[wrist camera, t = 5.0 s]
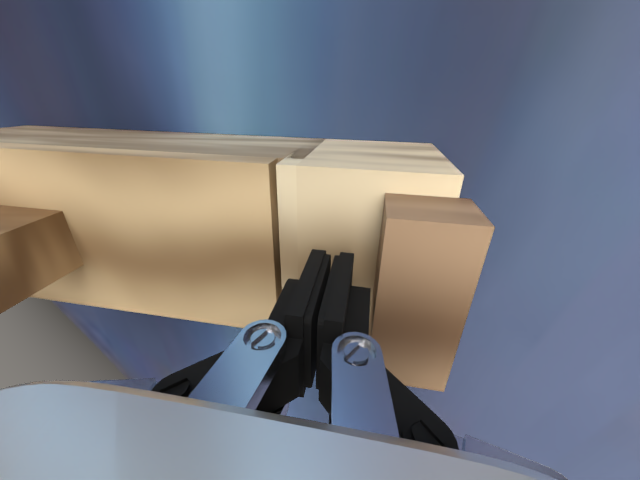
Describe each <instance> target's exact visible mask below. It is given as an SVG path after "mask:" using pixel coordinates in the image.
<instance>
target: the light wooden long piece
mask: <svg viewBox="0 0 640 480" xmlns="http://www.w3.org/2000/svg"><path fill="white" fill-rule="evenodd" d="M0 142H3V143H21V144H39V145H57V146H75V147H92V148H110V149H128V150H146V151H164V152H182V153H200V154H218V155H236V156H254V157H272V158H278V163H277V164H276V179H277V200H278V221H279V241H280V262H281V283H282V289H283V287H284V285H285V283H286V281H287V280H288V279H289V278H290V279H298V280H299V279H300V276H301V274H302V271H303V269H304V267H305V264H306V262H307V260H308V257H309V255H310V253H311V250H312V249H316V250H326V254H330V255H331V267H332V263H333V259H334V256H335V255H340V252H346V253H354V263H353V276H352V286H358V287H366V288H371V292H370V314H371V306H372V297H373V289H374V281H375V273H376V264H377V256H378V248H379V239H380V231H381V223H382V215H383V206H384V198H385V193H394V194H408V195H423V196H437V197H451V198H459V195H460V191H461V187H462V183H463V179H464V175H463V174H462V173H461V172H460V171H459V170H458V169H457V168H456V167H455V166H454V165H453V164H452V163H451V162H450V161H449V160H448V159H447V158H446V157H445V156H444V155H443V154H442V153H441V152H440V151H439V150H438V149H437V148H436V147H435V146H434V145H433V144H431V143H409V142H386V141H364V140H342V139H319V138H297V137H275V136H252V135H230V134H208V133H185V132H163V131H141V130H118V129H96V128H74V127H52V126H29V125H27V126H16V127H6V128H0ZM330 270H331V269H330ZM369 322H370V316H369Z"/></svg>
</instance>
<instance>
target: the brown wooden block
mask: <svg viewBox="0 0 640 480" xmlns="http://www.w3.org/2000/svg"><path fill="white" fill-rule="evenodd" d="M494 228H495V227H494V225H493V224H492V223H491V222H490V221H489V220H488V218H487V217H486V216H485V215H484V214H483V213H482V211H481V210H480V209H479V208H478V207H477V206H476V204H475V203H474V202H473V201H472V200H471V199H465V198H451V197H437V196H423V195H408V194H394V193H385V198H384V206H383V215H382V223H381V231H380V239H379V248H378V256H377V264H376V273H375V281H374V289H373V297H372V306H371V314H370V322H369V336H370V337H372V338H373V339H375V340H376V341H377V343H378V344H379V345H380V347H381V350H382V354H383V359H384V364H385V367H386V368H387V369H388V370H389V371H390V372H391V373H392V374H393V375H394V376H395V377H396V378H397V379H398V380H399V381H401V382H402V383H403V384H404V385H405V386H411V387H417V388H423V389H430V390H436V391H442V392H444V390H445V387H446V384H447V380H448V377H449V374H450V371H451V367H452V364H453V361H454V358H455V354H456V351H457V348H458V345H459V341H460V338H461V335H462V332H463V329H464V325H465V322H466V319H467V316H468V312H469V309H470V306H471V303H472V299H473V296H474V293H475V290H476V286H477V283H478V280H479V277H480V273H481V270H482V267H483V264H484V261H485V257H486V254H487V251H488V248H489V244H490V241H491V238H492V235H493V231H494Z"/></svg>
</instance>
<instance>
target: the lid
mask: <svg viewBox="0 0 640 480" xmlns="http://www.w3.org/2000/svg"><path fill="white" fill-rule="evenodd" d="M277 163H278V158H272V157H254V156H236V155H218V154H200V153H182V152H164V151H146V150H128V149H110V148H92V147H75V146H57V145H39V144H21V143H3V142H0V314H1V313H2V312H4V311H6V310H7V309H9V308H11V307H13V306H14V305H16V304H18V303H19V302H21V301H23V300H24V299H26V298H28V297H35V298H41V299H48V300H55V301H61V302H68V303H75V304H82V305H89V306H96V307H103V308H109V309H116V310H123V311H130V312H137V313H144V314H151V315H157V316H164V317H171V318H178V319H185V320H192V321H199V322H205V323H212V324H219V325H226V326H233V327H240V328H244V327H245V326H246V325H248V324H250V323H252V322H255V321H258V320H266V319H267V320H268V318H269V316H270V314H271V312H272V310H273V308H274V306H275V304H276V302H277V300H278V298H279V296H280V293H281V291H282V283H281V262H280V241H279V221H278V200H277V179H276V164H277Z"/></svg>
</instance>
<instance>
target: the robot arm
mask: <svg viewBox="0 0 640 480" xmlns="http://www.w3.org/2000/svg"><path fill="white" fill-rule="evenodd" d="M353 263H354V253H346V252H340V255H335V256H334V259H333V263H332V267H331V255H330V254H326V250H316V249H312V250H311V253H310V255H309V257H308V260H307V262H306V264H305V267H304V269H303V271H302V274H301V276H300V279H299V280H298V279H290V278H289V279H288V280H287V281H286V283H285V285H284V287H283V289H282V291H281V293H280V296H279V298H278V300H277V302H276V304H275V306H274V308H273V310H272V312H271V314H270V316H269V318H268V320H267V319H266V320H258V321H255V322H252V323H250V324H248V325H246V326H245V327H244V328H243V329H242V330H241V331H240V333H239V334H238V335H237V336H236V338H235V339H234V340H233V341H232V343H231V344H230V345H229V346H228V348H227V349H226V350H225V351H223V352H220V353H218V354H216V355H214V356H211V357H209V358H207V359H205V360H202V361H200V362H198V363H196V364H193V365H191V366H189V367H186V368H184V369H182V370H180V371H177V372H175V373H173V374H171V375H169V376H167V377H165V378H164V379H162V380H161V381H160V382H156V379H155V378H148V379H125V380H104V381H90V382H87V381H69V380H68V381H67V380H55V381H39V382H31V383H25V384H19V385H14V386H9V387H5V388H1V389H0V480H568V479H566V478H565V477H564V476H563V475H562V474H560V473H558V472H556V471H555V470H553V469H551V468H549V467H547V466H544V465H541V464H539V463H536V462H534V461H531V460H529V459H526V458H524V457H521V456H519V455H516V454H514V453H511V452H509V451H506V450H504V449H501V448H499V447H496V446H493V445H491V444H488V443H486V442H483V441H481V440H478V439H476V438H473V437H471V436H468V435H465V437H464V438H462V437H459V436H457V435H454V434H453V433H452V431H451V430H450V429H449V427H448V426H447V425H446V424H445V423H444V422H443V421H442V420H441V419H440V418H439V417H438V416H437V415H436V414H435V413H434V412H432V411H431V410H430V409H429V408H428V407H427V406H426V405H425V404H424V403H423V402H422V401H421V400H420V399H419V398H418V397H416V396H415V395H414V394H413V393H412V392H411V391H410V390H409V389H408V388H407V387H406V386H405V385H404V384H403V383H402V382H401V381H399V380H398V379H397V378H396V377H395V376H394V375H393V374H392V373H391V372H390V371H389V370H388V369H387V368H386V367H385V364H384V359H383V354H382V350H381V347H380V345H379V344H378V343H377V341H376V340H375V339H373V338H372V337H370V336H369V316H370V292H371V288H366V287H358V286H352V276H353ZM330 269H331V270H330ZM315 371H316V389H319V401H320V402H321V404H322V405H323V407H324V408H325V409H326V411H327V412H328V424H326V423H321V422H316V421H311V420H305V419H300V418H295V417H290V416H286V414H287V412H288V408H289V402H291V401H292V400H294V399H296V398H297V397H304V393H305V389H306V387H308V388H311V387H312V384H313V380H314V375H315Z"/></svg>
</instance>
